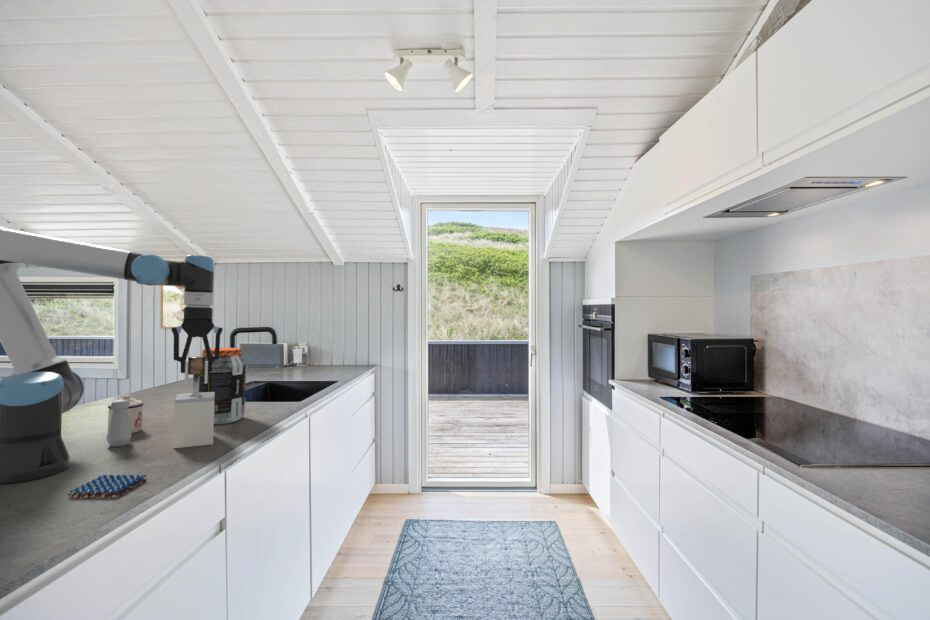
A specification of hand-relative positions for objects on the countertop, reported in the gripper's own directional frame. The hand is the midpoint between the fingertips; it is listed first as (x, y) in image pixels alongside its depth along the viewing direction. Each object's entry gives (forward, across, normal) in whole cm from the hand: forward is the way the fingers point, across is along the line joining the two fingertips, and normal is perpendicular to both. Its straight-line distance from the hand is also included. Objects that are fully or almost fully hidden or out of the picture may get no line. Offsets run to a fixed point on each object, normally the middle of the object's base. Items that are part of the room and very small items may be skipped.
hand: (196, 383), depth 134 cm
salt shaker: (+18, -19, +5) cm, 27 cm away
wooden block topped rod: (+16, 0, 0) cm, 16 cm away
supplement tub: (+18, +7, +25) cm, 32 cm away
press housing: (+18, 0, 0) cm, 18 cm away
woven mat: (+19, -15, -32) cm, 40 cm away
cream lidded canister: (+18, -20, +22) cm, 35 cm away
